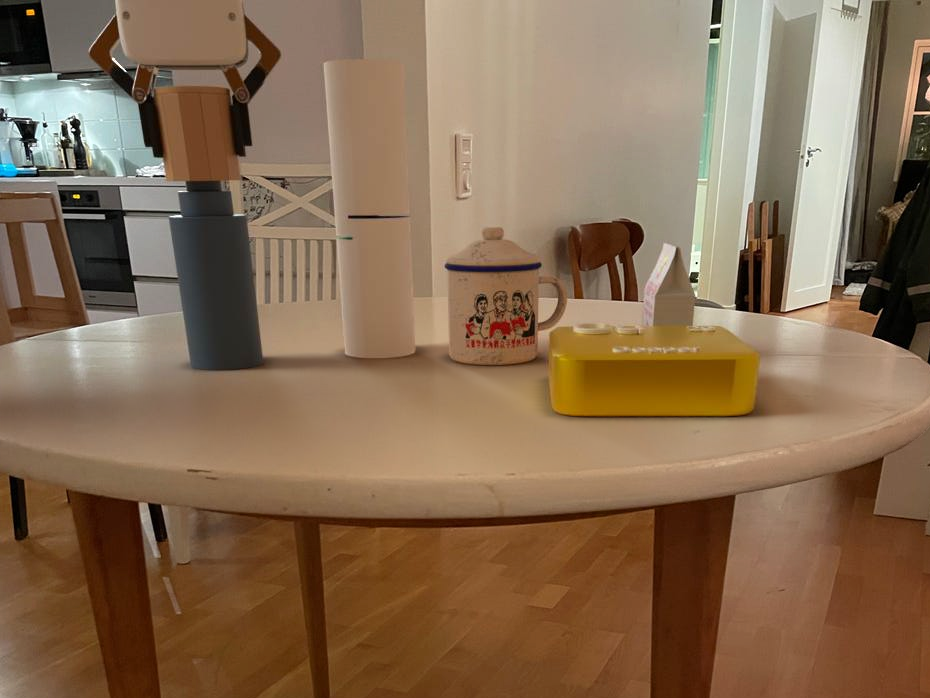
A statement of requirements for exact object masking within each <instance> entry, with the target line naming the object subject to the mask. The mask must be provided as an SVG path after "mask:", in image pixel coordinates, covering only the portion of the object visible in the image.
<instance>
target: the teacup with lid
mask: <svg viewBox="0 0 930 698" xmlns="http://www.w3.org/2000/svg"><path fill="white" fill-rule="evenodd" d="M504 233H505V231H504V228H503V227H501V226H485V227H484V228H482V231H481V237H482V238H483V239H477V240H475V241H471V243H469V244H468V245H467V246H466V247H464V248H463V249H462V250H460V251H457V252H456V253H453V254H450V255H449V256H447V257H446V259H445V264H444V269H446V279H447V315H448V317H447V321H448V354H449V357H450V358H451V360H453V361H454V362H458V363H461V364H465V365H466V364H467V365H475V366H506V365H515V364H516V365H518V364H524V363H527V362H530V361H533V360H534V359H535V358H537V356H538V353H539V351H538V349H539V332H541V331H546V330H549V329H552V328H553V327H555V326H556V325H557V324H558V323H559V322H560V321H561V319H562V317H563V316H564V314H565V311H566V309H567V304H568V291H567V287H566V286H565V284H564V283H563V282H562V280H561V279H560V278H557V277H555V276H553V275H546V274H545V275H544V274H543V275H540V269H541V268H542V266H543V264H542V262H541V258H540V257H539V255H538V254H536V253H532V252H530V251H527V250H526V249H523V248H522V247H521V246H520V245H519V244H517V243H516V242H515V241H512V240H510V239H505V238H504V236H505V234H504ZM540 284H541V285H542V284H551V285H552V286H554V288H555V289H556V291H557V304H556V307H555V309H554V312H553V313H552V315H550V317H549V318H548V319H545V320H543V321H541V322H539V296H540V295H539V294H540V289H539V288H540Z"/></svg>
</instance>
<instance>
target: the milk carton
mask: <svg viewBox="0 0 930 698" xmlns="http://www.w3.org/2000/svg"><path fill="white" fill-rule="evenodd" d="M642 299H643V302H642V315H641V317H642V318H641V326H694V317H695V316H694V314H695V302H696V293H695V291H694V288H693V285H692V283H691V280H690V278H689V275H688V272H687V270H686V267H685V263H684V260H683V257H682V250H681V246H679V245H676V244H673V243H671V242H663V245H662V248H661V251H660V254H659V256H658V259H657V261H656V264H655V265H654V267H653V270H652V271H651V273H650V275H649V277H648V279H647V281H646V282H645V285H644V288H643V298H642Z"/></svg>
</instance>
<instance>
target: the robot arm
mask: <svg viewBox="0 0 930 698" xmlns="http://www.w3.org/2000/svg"><path fill="white" fill-rule="evenodd" d="M114 1H115V14H114V15H113V16H112V17H111V19H110V21H109V22H108V23H107V24H106V26H105V27H104V29H102V31H101V32H100V34H99V35H98V36H97V37H96V39H95V40H94V42H93V43H92V44H91V46H89V48H88V56H89V58H90V60H92V61H93V62H94V63H95V64H96V65H97V66H98V67H99V68H100V69H101V70H102V71H103V72H104V73H105V74H107V76H109V78H111V80H112V81H113V82H114V83H115V84H116V85H118V86H119V87H120V88H121V89H122V90H123V91H124V92H125V93H126V94H127V95H128V96H129V97H130V98H132V100H133V101H134V102H135V103H136V104H137V107H138V113H139V121H140V125H141V126H140V127H141V132H142V139H143V144H144V147H145V148H151V150H152V156H153V158H157V159H163V154H162V147H161V141H160V134H159V128H158V121H157V114H156V108H155V103H154V91H153V89H154V88H156V87H155V86H156V83H157V78H158V74H159V71H221V72H222V73H223V76H224V78H225V81H227V84H228V85H229V86H228V87H230V88H229V89H230V91H232V95H231V101H232V105H230V109H231V117H232V125H233V133H234V142H235V150H236V155H238V158H246V157H247V154H246V153H247V152H246V147H253V139H252V138H253V137H252V128H251V120H250V111H249V104H250V103H251V101H252V100H253V98H254V97H255V96H256V95H257V94H258V92H259V90H260V89H261V88H262V87H263V85H264V84H265V82H266V81H267V80H268V78H269V77H270V75H271V74H272V73H273V71H274V70H275V69H276V67H278V65H279V64H280V62H281V60H282V52H281V50H280V49H279V47H278V46H277V45H275V43H273V41H272V40H271V39H270V38H268V36H267V35H266V34H265V33H264V32H263V31H262V30H261V29H260V28H259V27H257V25H256V23H255V24H254V22H253V21H251V19H250V18H249V17H248V16H247V15H246V14H245V7H244V1H243V0H114ZM249 43H250V44H251V45H252V46H253V47H254V48H255V49H256V50H257V51H258V52H259V53H260V58H259V59H258V61H257V63H256V64H255V66H254V67H253V68H252V69H251V70H250V71H249V73H248V75H246V77H245V78H244V79H243V77H242V75H241V74H240V71H239V68H241V67H243V66H244V65H246V64H247V62H248V60H249ZM119 45H121V48H122V52H123V54H124V56H125V57H126V58H127V59H128V60H130V61H131V62H133V64H135V65H137V69H136V73H135V77H133V76H132V75H131V74H130V73H129V72H128V71H126V70H125V68H123V67H122V66H121V65H120V64H119V63H118V62H117V61H116V60H115V58H114V52H115V50H116V49H117V47H118V46H119Z"/></svg>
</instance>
